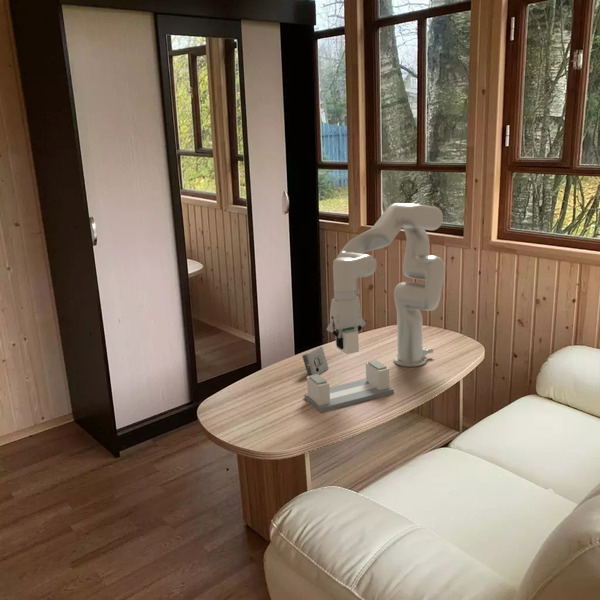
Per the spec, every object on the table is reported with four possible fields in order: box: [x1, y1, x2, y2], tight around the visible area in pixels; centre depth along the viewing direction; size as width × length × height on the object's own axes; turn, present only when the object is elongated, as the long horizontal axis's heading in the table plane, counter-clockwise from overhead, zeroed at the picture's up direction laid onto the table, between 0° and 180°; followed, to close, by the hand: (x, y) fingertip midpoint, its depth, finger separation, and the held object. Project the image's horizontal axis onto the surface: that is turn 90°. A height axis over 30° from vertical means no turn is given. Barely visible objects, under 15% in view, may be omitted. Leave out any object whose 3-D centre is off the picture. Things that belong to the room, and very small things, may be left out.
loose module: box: [334, 328, 360, 355], centre depth 204 cm, size 4×8×8 cm, turn 23°
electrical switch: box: [301, 346, 329, 376], centre depth 230 cm, size 9×5×9 cm, turn 141°
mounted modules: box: [306, 359, 390, 406], centre depth 207 cm, size 27×9×8 cm, turn 114°
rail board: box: [303, 378, 395, 413], centre depth 209 cm, size 28×13×2 cm, turn 114°
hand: (347, 346), depth 205 cm, fingers closed on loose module, 4 cm apart
